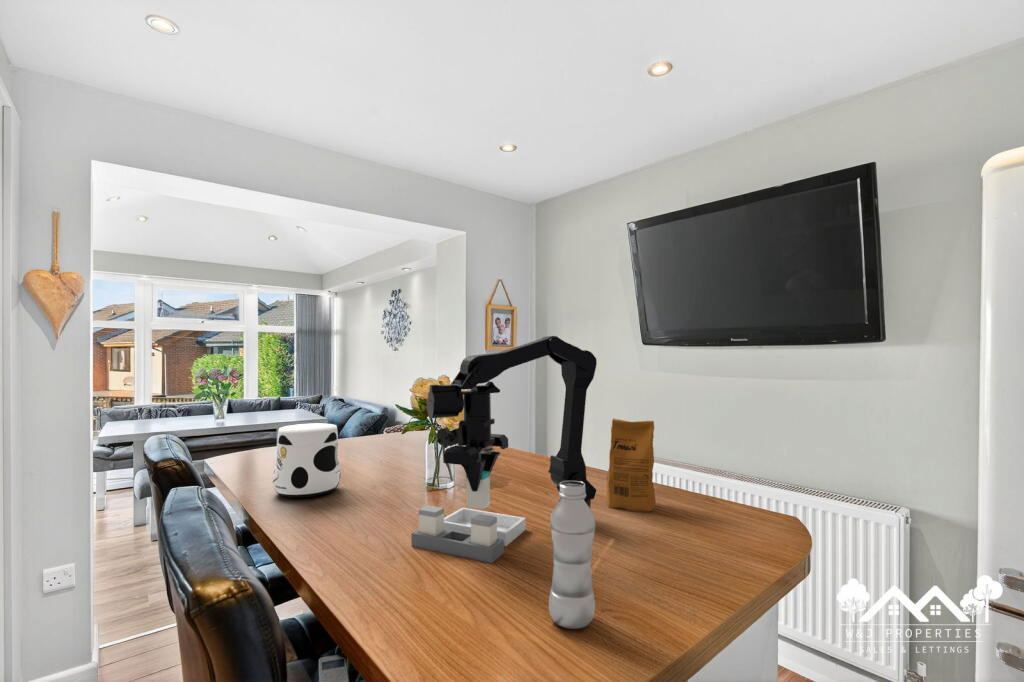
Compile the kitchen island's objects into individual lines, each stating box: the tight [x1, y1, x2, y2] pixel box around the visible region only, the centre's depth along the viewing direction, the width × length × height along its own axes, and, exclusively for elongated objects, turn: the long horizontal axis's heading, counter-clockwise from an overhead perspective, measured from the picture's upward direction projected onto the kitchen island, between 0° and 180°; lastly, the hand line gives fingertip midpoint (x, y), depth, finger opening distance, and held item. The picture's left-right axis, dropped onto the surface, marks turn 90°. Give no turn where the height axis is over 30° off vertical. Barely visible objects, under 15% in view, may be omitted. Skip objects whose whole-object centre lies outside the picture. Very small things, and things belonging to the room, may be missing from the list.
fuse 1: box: [418, 504, 445, 536], centre depth 97 cm, size 4×3×7 cm
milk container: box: [272, 422, 342, 498], centre depth 133 cm, size 17×17×18 cm
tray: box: [444, 507, 527, 547], centre depth 104 cm, size 16×10×3 cm, turn 65°
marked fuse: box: [465, 471, 491, 510], centre depth 102 cm, size 4×3×7 cm
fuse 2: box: [471, 514, 497, 547], centre depth 92 cm, size 4×3×7 cm
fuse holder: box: [411, 528, 505, 564], centre depth 94 cm, size 18×5×3 cm, turn 65°
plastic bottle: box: [548, 481, 597, 630], centre depth 70 cm, size 6×7×20 cm
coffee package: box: [606, 417, 657, 512], centre depth 124 cm, size 10×12×22 cm
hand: (478, 489), depth 102 cm, fingers closed on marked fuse, 3 cm apart
